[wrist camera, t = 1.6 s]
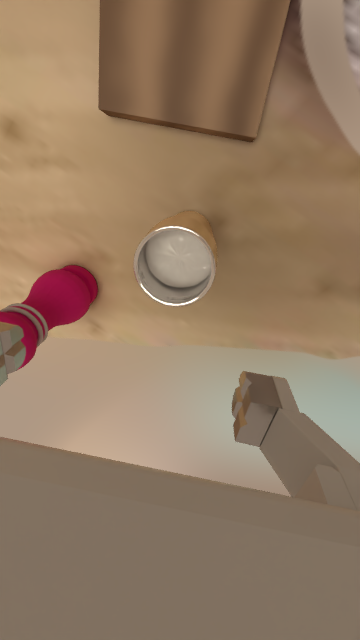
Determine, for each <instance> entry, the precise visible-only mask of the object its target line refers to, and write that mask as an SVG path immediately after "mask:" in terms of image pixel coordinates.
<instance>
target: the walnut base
mask: <svg viewBox="0 0 360 640" xmlns="http://www.w3.org/2000/svg"><path fill="white" fill-rule="evenodd" d="M289 4H290V0H100V39H99V109H100V110H101V111H103V112H104V113H106V114H107V115H109V116H113V117H118V118H124V119H129V120H135V121H140V122H146V123H151V124H156V125H162V126H167V127H173V128H178V129H184V130H189V131H194V132H200V133H205V134H211V135H216V136H221V137H227V138H232V139H238V140H243V141H249V142H252V141H253V140H254V139H255V138H256V136H257V132H258V128H259V124H260V120H261V116H262V112H263V108H264V104H265V100H266V96H267V92H268V88H269V84H270V80H271V76H272V72H273V68H274V64H275V60H276V56H277V52H278V48H279V44H280V40H281V36H282V32H283V28H284V24H285V20H286V16H287V12H288V8H289Z"/></svg>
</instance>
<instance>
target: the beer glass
mask: <svg viewBox="0 0 360 640" xmlns="http://www.w3.org/2000/svg"><path fill="white" fill-rule="evenodd" d="M217 258H218V252H217V246H216V242H215V239H214V236H213V233H212V228H211V225H210V223H209V222H208V220H207V219H206V218H205V217H204V216H203V215H201V214H200V213H197V212H194V211H183V212H180V213H178V214H176V215H175V216H172V217H169V218H166V219H164V220H162V221H160V222H159V223H157V224H156V225H155V226H154V227H153V228H152V229H151V230H150V231H149V232H148V233H147V235H146V236H145V237H144V238H143V239H142V241H141V242H140V244H139V245H138V247H137V249H136V252H135V256H134V273H135V277H136V280H137V282H138V284H139V286H140V287H141V289H142V290H143V291H144V292H145V293H146V295H148V296H149V297H150V298H151V299H153V300H154V301H156V302H158V303H160V304H163V305H166V306H172V307H180V306H186V305H189V304H192V303H194V302H196V301H198V300H199V299H201V298H202V297H203V296H204V295H205V294H206V293H207V292H208V290H209V289H210V287H211V286H212V283H213V281H214V278H215V272H216V267H217Z"/></svg>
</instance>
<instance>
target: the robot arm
mask: <svg viewBox="0 0 360 640" xmlns="http://www.w3.org/2000/svg"><path fill="white" fill-rule="evenodd" d="M23 337H24V334H23V329H22V328H21V327H20V326H18V325H13V324H9V323H4V322H0V386H1V385H2V384H3V383H4V382H5V381H6V380H7V379H8V374H9V373H12V372H14V371H17V370H18V368H19V367H20V366H21V365H22V363H23V361H24V359H25V355H26V348H25V346H24V344H23V343H22V342H21V339H22V338H23ZM239 384H240V386H239V387H238V388H236V389H235V392H234V395H233V401H232V415H233V416H234V417H235V419H236V420H235V422H234V425H233V427H234V437H235V441H236V442H240V443H245V444H249V445H253V446H258V447H260V450H261V451H262V453H263V454H264V456H265V457H266V459H267V460H268V462H269V463H270V465H271V466H272V468H273V469H274V471H275V472H276V473H277V475H278V477H279V478H280V480H281V481H282V482H283V484H284V486H285V487H286V489H287V490H288V492H289V493H290V494H291V496H292V497H289V496H285V495H280V494H275V493H270V492H265V491H260V490H256V489H250V488H246V487H241V486H236V485H231V484H226V483H221V482H217V481H211V480H207V479H202V478H197V477H192V476H188V475H183V474H178V473H173V472H168V471H164V470H158V469H153V468H149V467H144V466H139V465H134V464H129V463H125V462H120V461H115V460H110V459H105V458H100V457H96V456H90V455H86V454H81V453H76V452H71V451H66V450H61V449H57V448H52V447H47V446H42V445H37V444H32V443H28V442H23V441H18V440H13V439H8V438H4V437H0V640H360V463H359V462H358V461H356V460H355V459H354V458H353V457H352V456H351V455H350V454H349V453H348V452H346V451H345V450H344V449H343V448H342V447H341V446H340V445H339V444H338V443H336V442H335V441H334V440H333V439H332V438H331V437H330V436H329V435H328V434H326V433H325V432H324V431H323V430H322V429H321V428H320V427H319V426H318V425H316V424H315V423H314V422H313V421H312V420H311V419H310V418H309V417H308V416H306V415H305V414H304V413H300V412H299V409H298V407H297V404H296V402H295V400H294V397H293V395H292V392H291V390H290V387H289V384H288V382H287V380H286V379H285V378H280V377H275V376H267V375H261V374H256V373H251V372H246V371H243V372H242V373H241V375H240V378H239Z"/></svg>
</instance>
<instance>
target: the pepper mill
mask: <svg viewBox="0 0 360 640" xmlns="http://www.w3.org/2000/svg"><path fill="white" fill-rule="evenodd" d="M97 292H98V288H97V283H96V281H95V279H94V277H93V276H92V275H91V273H90V272H89V271H87V270H86V269H84V268H82V267H80V266H75V265H69V266H66V267H64V268H62V269H60V270H51V271H49V272H46V273H45V274H43V275H42V276H41V277H39V278H38V279H37V281H36V282H35V283H34V284H33V286H32V288H31V291H30V293H29V296H28V297H27V299H26V300H25V301H24V302H22V303H21V304H20V303H16V304H11V305H9V306H7V307H6V308H4V309H2V310H1V311H0V322H4V323H9V324H13V325H18V326H20V327H21V328H22V329H23V334H24V337H23V338H22V339H21V342H22V343H23V344H24V346H25V348H26V355H25V359H24V361H23V363H22V365H21V366H20V367H19V368H18V369H20V368H22V367H24V366H25V365H26V364H27V363H28V362H29V361H30V360H31V359H32V358H33V356H34V355H35V352H36V348H37V347H38V346H39V345H40V344H41V343H42V342H43V341H44V340H45V339H46V338H47V335H48V331H49V330H50V329H52V328H53V327H55V326H59V325H65V324H70V323H72V322H75V321H77V320H79V319H80V318H81V317H82V316H84V314H85V313H86V312H87V311H88V309H89V306H90V304H91V303H92V302H93V301H94V299H95V298H96V296H97Z"/></svg>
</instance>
